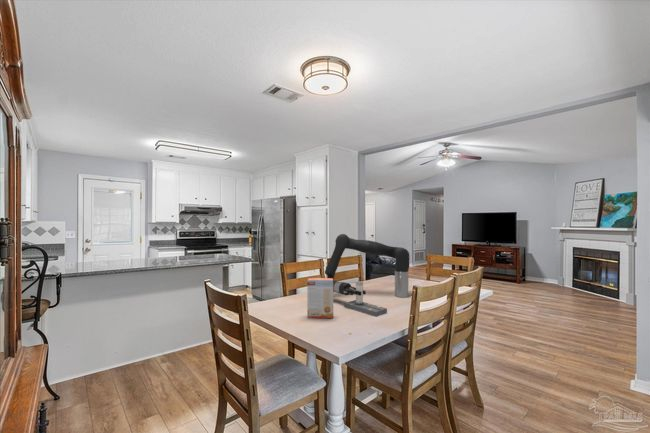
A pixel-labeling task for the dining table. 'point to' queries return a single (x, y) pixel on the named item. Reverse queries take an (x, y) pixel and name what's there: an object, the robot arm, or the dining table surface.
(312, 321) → the dining table surface
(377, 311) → the fader console
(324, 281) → the cracker box
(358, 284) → the fader tab
